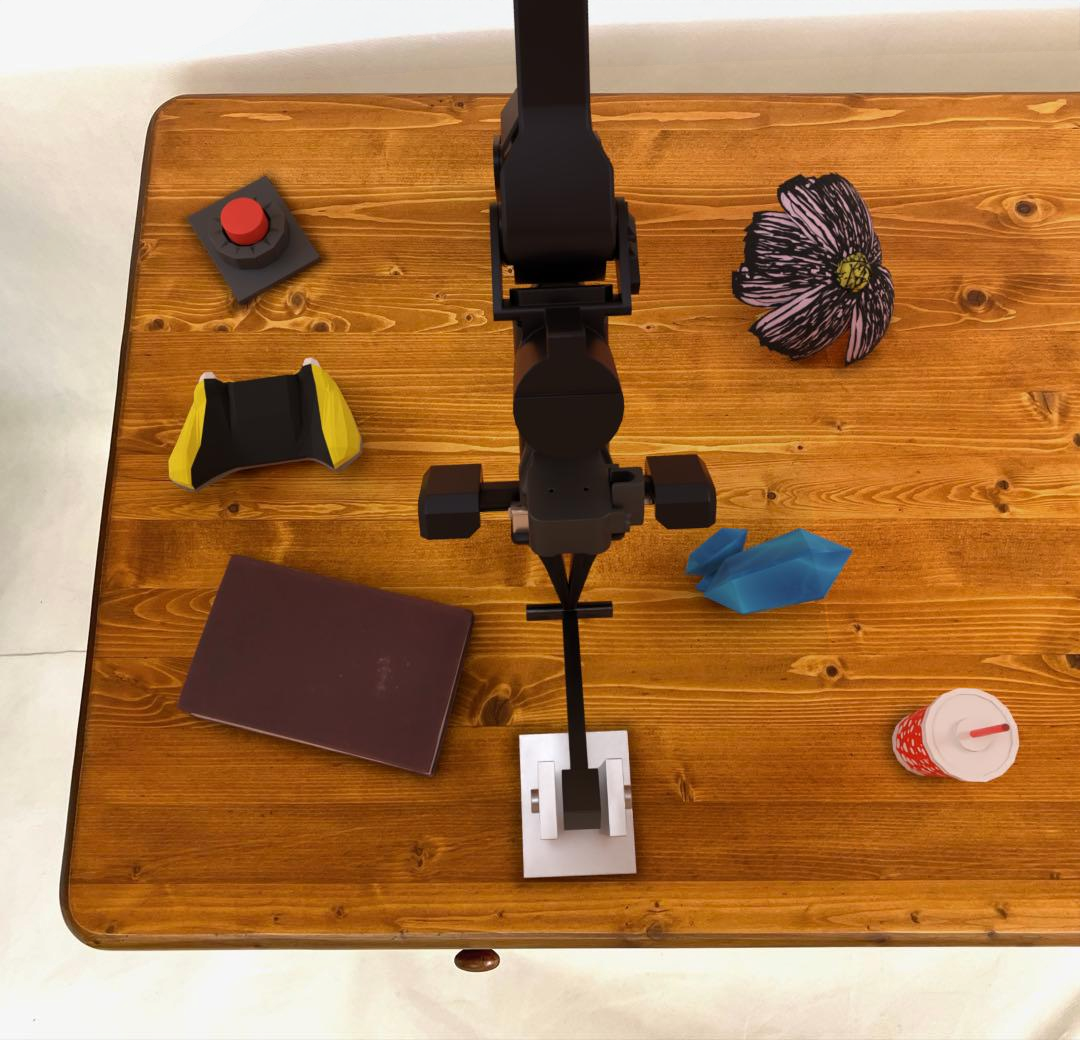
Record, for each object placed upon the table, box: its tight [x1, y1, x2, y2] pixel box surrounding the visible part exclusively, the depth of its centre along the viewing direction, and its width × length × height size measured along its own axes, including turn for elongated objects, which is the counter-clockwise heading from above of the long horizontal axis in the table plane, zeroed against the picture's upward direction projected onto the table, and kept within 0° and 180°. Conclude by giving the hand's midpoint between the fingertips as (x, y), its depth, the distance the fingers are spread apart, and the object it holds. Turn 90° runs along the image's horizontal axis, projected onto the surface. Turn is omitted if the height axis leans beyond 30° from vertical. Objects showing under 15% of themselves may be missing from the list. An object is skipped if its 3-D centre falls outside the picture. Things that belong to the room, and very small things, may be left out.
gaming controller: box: [167, 356, 364, 493], centre depth 78 cm, size 15×6×10 cm
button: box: [221, 198, 268, 245], centre depth 83 cm, size 4×4×2 cm
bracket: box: [518, 729, 637, 879], centre depth 64 cm, size 10×8×16 cm
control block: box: [186, 174, 322, 306], centre depth 85 cm, size 10×8×2 cm
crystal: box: [684, 527, 854, 616], centre depth 73 cm, size 7×9×12 cm
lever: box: [525, 600, 614, 830], centre depth 63 cm, size 16×6×2 cm, turn 2°
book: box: [175, 553, 476, 778], centre depth 74 cm, size 12×19×3 cm, turn 76°
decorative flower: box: [731, 171, 895, 368], centre depth 79 cm, size 14×12×15 cm
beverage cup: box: [891, 687, 1020, 783], centre depth 66 cm, size 6×6×14 cm
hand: (569, 606), depth 67 cm, fingers closed, pressing on lever
